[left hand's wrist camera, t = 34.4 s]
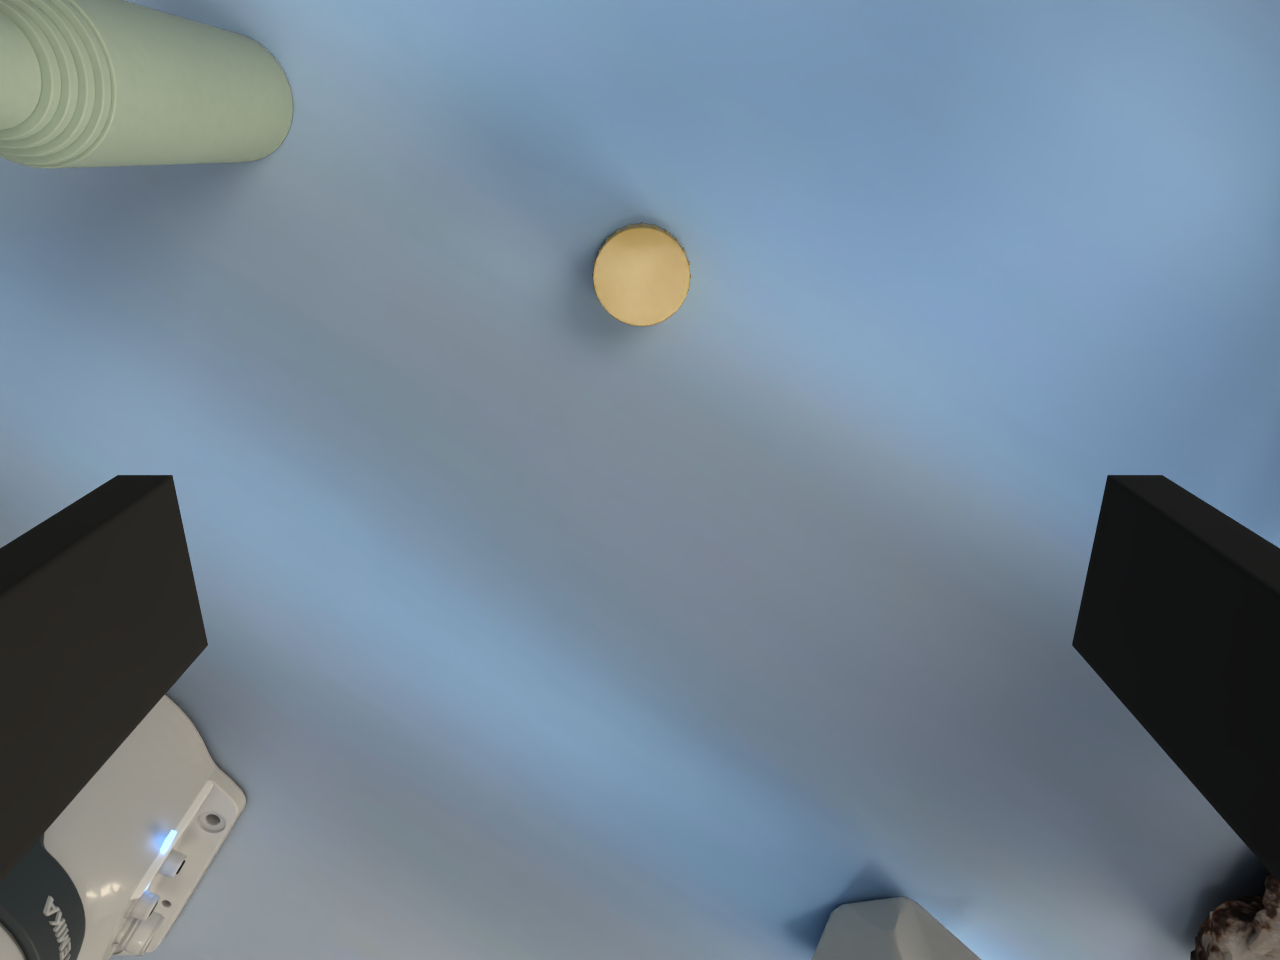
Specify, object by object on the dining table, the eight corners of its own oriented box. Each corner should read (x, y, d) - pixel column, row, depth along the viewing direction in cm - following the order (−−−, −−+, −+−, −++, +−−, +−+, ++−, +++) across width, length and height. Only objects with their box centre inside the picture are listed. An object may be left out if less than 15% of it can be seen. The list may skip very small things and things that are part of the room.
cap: (648, 337, 43) (649, 346, 41) (575, 279, 42) (572, 286, 40) (707, 263, 42) (711, 269, 40) (633, 202, 41) (633, 205, 38)
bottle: (177, 155, 40) (-186, 159, 22) (167, 24, 38) (-241, -84, 20) (295, 168, 40) (27, 183, 23) (291, 39, 38) (-6, -55, 21)
